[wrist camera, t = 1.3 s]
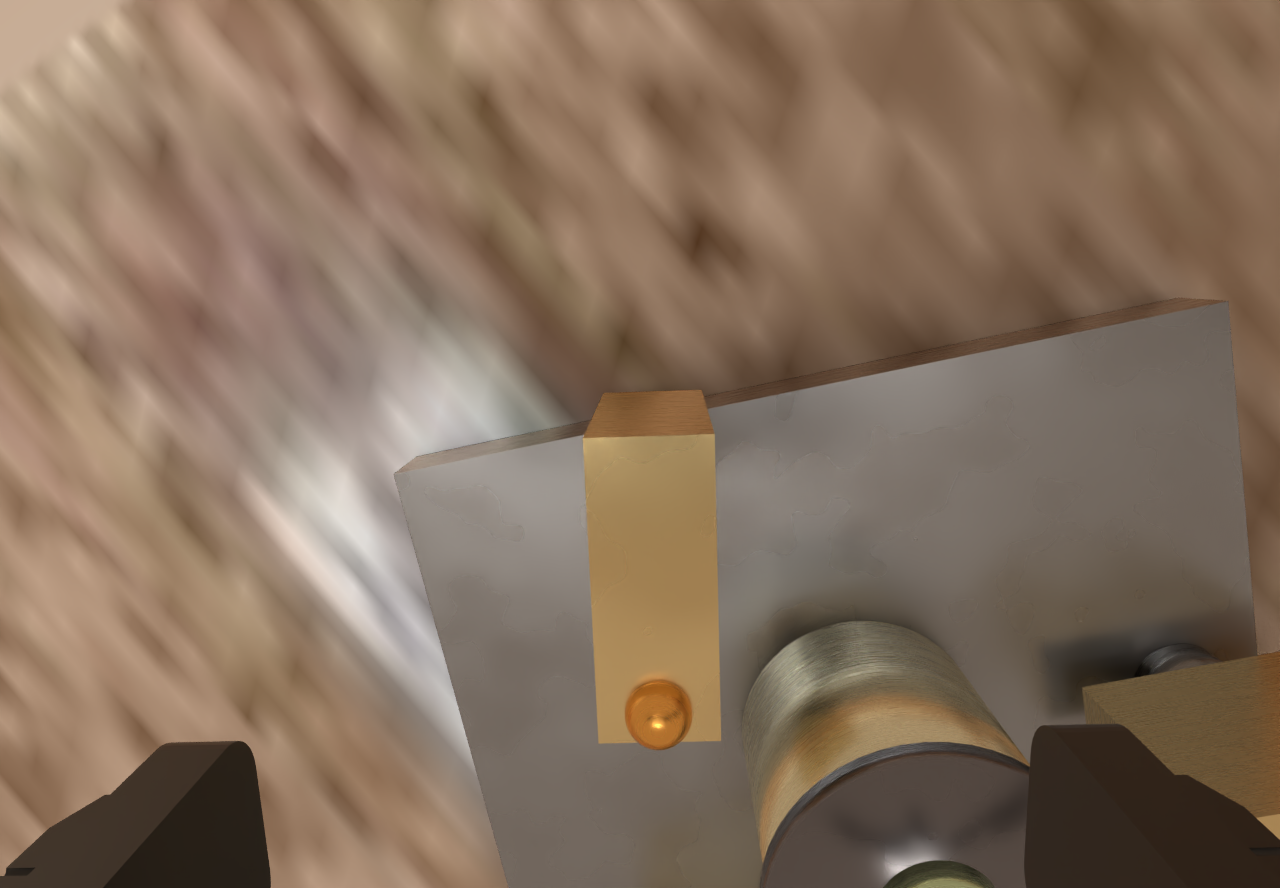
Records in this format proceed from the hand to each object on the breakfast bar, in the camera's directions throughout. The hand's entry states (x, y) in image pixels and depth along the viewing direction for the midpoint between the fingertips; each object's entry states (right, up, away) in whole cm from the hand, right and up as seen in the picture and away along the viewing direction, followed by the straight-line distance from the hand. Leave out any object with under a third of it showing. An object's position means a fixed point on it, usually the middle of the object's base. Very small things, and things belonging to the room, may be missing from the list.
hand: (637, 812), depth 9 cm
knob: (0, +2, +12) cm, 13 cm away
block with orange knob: (+14, -2, +13) cm, 19 cm away
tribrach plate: (+6, -3, +15) cm, 17 cm away
